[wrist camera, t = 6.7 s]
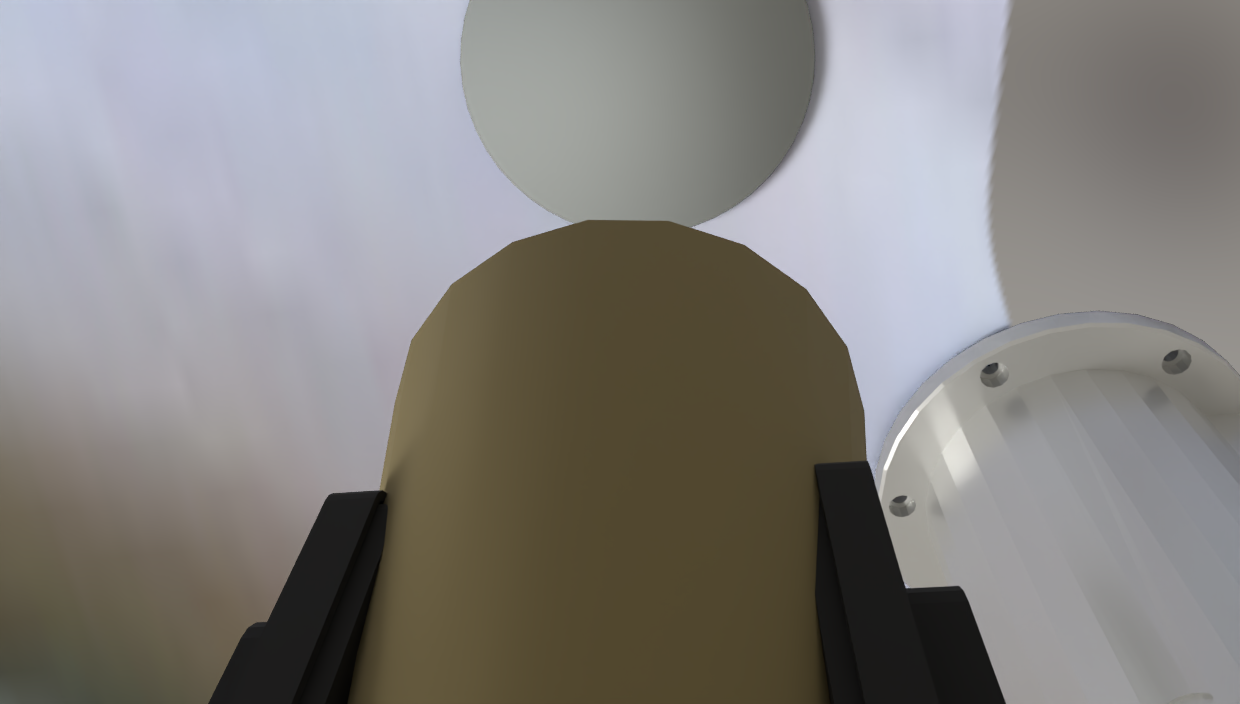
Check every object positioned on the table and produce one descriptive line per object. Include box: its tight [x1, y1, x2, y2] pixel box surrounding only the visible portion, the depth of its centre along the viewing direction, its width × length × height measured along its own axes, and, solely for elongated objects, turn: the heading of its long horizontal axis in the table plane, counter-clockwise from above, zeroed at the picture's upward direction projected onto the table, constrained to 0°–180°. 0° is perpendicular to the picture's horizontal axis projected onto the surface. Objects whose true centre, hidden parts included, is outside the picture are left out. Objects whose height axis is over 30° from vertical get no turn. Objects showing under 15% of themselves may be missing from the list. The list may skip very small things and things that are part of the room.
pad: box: [460, 0, 815, 227], centre depth 32 cm, size 10×10×1 cm
